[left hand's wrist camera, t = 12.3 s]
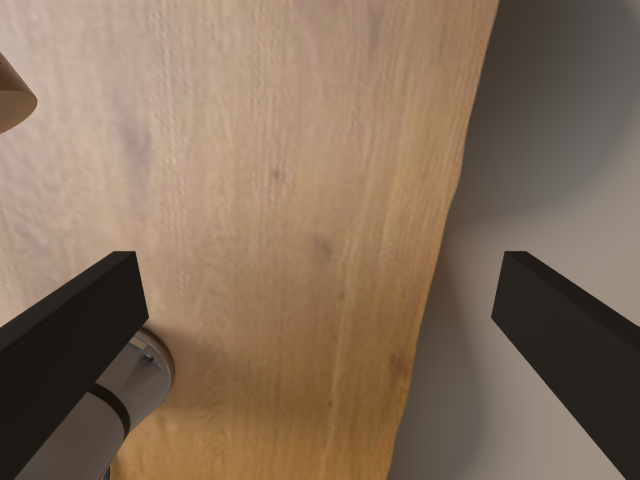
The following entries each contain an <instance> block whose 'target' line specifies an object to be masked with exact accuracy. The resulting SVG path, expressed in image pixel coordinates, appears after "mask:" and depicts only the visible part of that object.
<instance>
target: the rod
mask: <svg viewBox="0 0 640 480" xmlns="http://www.w3.org/2000/svg"><path fill="white" fill-rule="evenodd" d="M36 106H37V98H36V96H35V95H34V94H33V92H32V91H31V90H30V89H29V87H28V86H27V85H26V84H25V82H24V81H23V80H22V79H21V77H20V76H19V75H18V73H17V72H16V71H15V70H14V68H13V67H12V66H11V65H10V63H9V62H8V61H7V60H6V58H5V57H4V56H3V55H2V53H1V52H0V134H1V133H3V132H5V131H7V130H9V129H11V128H13V127H15V126H16V125H18V124H19V123H21V122H22V121H24V120H25V119H26V118H27V117H28V116H30V115H31V114H32V112H33V111H34V110H35V108H36Z"/></svg>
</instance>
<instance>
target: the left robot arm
mask: <svg viewBox="0 0 640 480" xmlns="http://www.w3.org/2000/svg"><path fill="white" fill-rule="evenodd" d="M148 318H149V315H148V311H147V306H146V301H145V296H144V291H143V286H142V281H141V276H140V272H139V267H138V262H137V257H136V252H135V251H113V252H112V253H110V254H109V255H107V256H106V257H104V258H103V259H102V260H100V261H99V262H97V263H96V264H94V265H93V266H91V267H90V268H88V269H87V270H85V271H84V272H82V273H81V274H79V275H78V276H76V277H75V278H73V279H72V280H70V281H69V282H67V283H66V284H64V285H63V286H61V287H60V288H58V289H57V290H55V291H54V292H52V293H51V294H49V295H48V296H46V297H45V298H44V299H42V300H41V301H39V302H38V303H36V304H35V305H33V306H32V307H30V308H29V309H27V310H26V311H24V312H23V313H21V314H20V315H18V316H17V317H15V318H14V319H12V320H11V321H9V322H8V323H6V324H5V325H3V326H2V327H0V480H101V479H102V478H103V476H104V480H110V464H111V462H112V461H113V459H114V457H115V456H116V454H117V452H118V451H119V449H120V447H121V445H122V444H123V442H124V440H125V439H126V437H127V435H128V434H129V432H130V431H131V430H132V429H134V428H135V427H136V426H137V425H138V424H139V423H140V422H141V421H142V420H144V419H145V418H146V417H147V416H148V415H149V414H150V413H151V412H152V411H153V410H155V409H156V408H157V407H158V406H159V405H160V404H161V403H162V402H163V401H164V399H165V398H166V396H167V394H168V392H169V390H170V388H171V386H172V384H173V381H174V377H175V368H174V363H173V360H172V357H171V355H170V353H169V352H168V350H167V349H166V347H165V346H164V345H163V343H162V342H161V341H160V340H159V339H157V338H156V337H155V336H154V335H153V334H151V333H150V332H148V331H147V330H145V329H143V328H141V327H142V325H143V324H144V323H145V322H146V321H147V319H148ZM491 318H492V319H493V321H494V322H495V323H496V324H497V325H498V327H499V328H500V329H501V330H502V331H503V333H504V334H505V335H506V336H507V337H508V339H509V340H510V341H511V342H512V343H513V345H514V346H515V347H516V348H517V349H518V351H519V352H520V353H521V354H522V355H523V357H524V358H525V359H526V360H527V361H528V363H529V364H530V365H531V366H532V367H533V369H534V370H535V371H536V372H537V373H538V375H539V376H540V377H541V378H542V379H543V381H544V382H545V383H546V384H547V385H548V387H549V388H550V389H551V390H552V391H553V393H554V394H555V395H556V396H557V397H558V399H559V400H560V401H561V402H562V403H563V405H564V406H565V407H566V408H567V409H568V411H569V412H570V413H571V414H572V415H573V417H574V418H575V419H576V420H577V421H578V423H579V424H580V425H581V426H582V427H583V429H584V430H585V431H586V432H587V433H588V435H589V436H590V437H591V438H592V439H593V441H594V442H595V443H596V444H597V445H598V447H599V448H600V449H601V450H602V451H603V453H604V454H605V455H606V456H607V457H608V459H609V460H610V461H611V462H612V463H613V465H614V466H615V467H616V468H617V469H618V471H619V472H620V473H621V474H622V475H623V477H624V478H625V479H626V480H640V327H639V326H637V325H635V324H634V323H632V322H631V321H629V320H628V319H626V318H625V317H623V316H622V315H620V314H619V313H617V312H616V311H614V310H613V309H611V308H610V307H608V306H607V305H605V304H604V303H602V302H601V301H599V300H598V299H596V298H595V297H594V296H592V295H590V294H589V293H588V292H586V291H585V290H583V289H582V288H580V287H579V286H577V285H576V284H574V283H573V282H571V281H570V280H568V279H567V278H565V277H564V276H562V275H561V274H559V273H558V272H556V271H555V270H553V269H552V268H550V267H549V266H547V265H546V264H544V263H543V262H541V261H540V260H538V259H537V258H535V257H534V256H533V255H531V254H530V253H528V252H527V251H505V252H504V257H503V262H502V267H501V272H500V277H499V281H498V286H497V291H496V296H495V301H494V306H493V311H492V315H491Z"/></svg>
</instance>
